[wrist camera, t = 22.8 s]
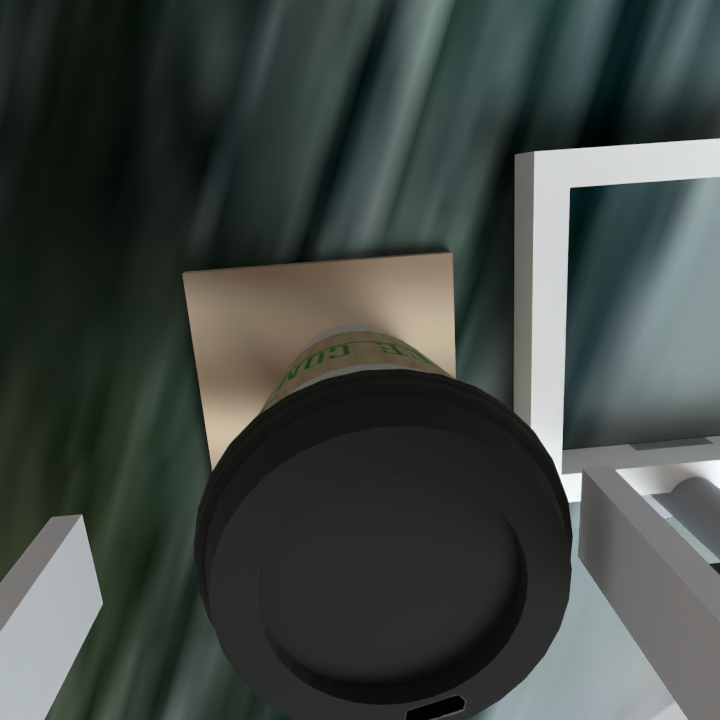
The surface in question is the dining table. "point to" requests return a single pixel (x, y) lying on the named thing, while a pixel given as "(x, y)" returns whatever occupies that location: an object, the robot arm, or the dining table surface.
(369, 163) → the dining table surface
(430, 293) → the cork pad
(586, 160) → the white square frame
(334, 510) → the coffee cup
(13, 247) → the dining table surface
